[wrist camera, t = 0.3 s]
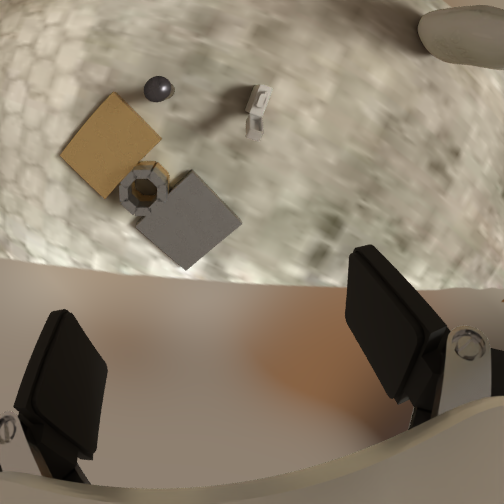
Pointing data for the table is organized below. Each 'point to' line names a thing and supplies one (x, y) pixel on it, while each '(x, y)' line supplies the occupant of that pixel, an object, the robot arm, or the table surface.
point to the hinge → (164, 201)
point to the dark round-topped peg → (158, 89)
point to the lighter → (257, 111)
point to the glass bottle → (465, 35)
